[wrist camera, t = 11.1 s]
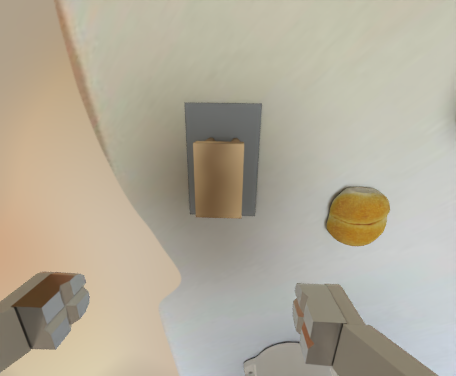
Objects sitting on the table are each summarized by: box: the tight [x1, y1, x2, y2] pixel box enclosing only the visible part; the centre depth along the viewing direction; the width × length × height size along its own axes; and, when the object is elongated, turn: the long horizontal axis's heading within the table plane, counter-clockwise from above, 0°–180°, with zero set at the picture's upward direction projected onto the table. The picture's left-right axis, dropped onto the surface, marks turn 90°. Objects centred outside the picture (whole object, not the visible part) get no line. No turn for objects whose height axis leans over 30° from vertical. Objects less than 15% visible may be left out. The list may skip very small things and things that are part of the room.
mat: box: [185, 103, 262, 216], centre depth 30 cm, size 16×10×1 cm, turn 179°
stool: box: [193, 137, 244, 218], centre depth 26 cm, size 5×8×8 cm, turn 179°
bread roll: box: [327, 187, 390, 246], centre depth 30 cm, size 8×9×4 cm
